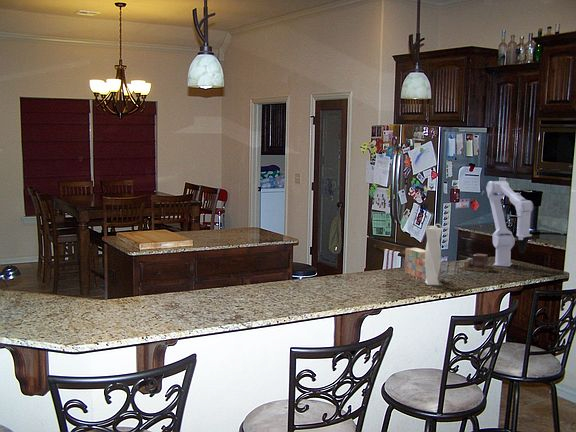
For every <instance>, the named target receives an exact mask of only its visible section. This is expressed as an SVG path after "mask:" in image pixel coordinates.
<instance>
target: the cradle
mask: <svg viewBox="0 0 576 432" xmlns="http://www.w3.org/2000/svg"><path fill="white" fill-rule="evenodd" d="M493 267H494V265H493V264H492V265H490V264H487V269H482V268H473V257H468V258H466V259H465V261H464V266H463V270H464V271H472V270H473V271H475V272H483V273H489V271H490V270H489V269H493Z"/></svg>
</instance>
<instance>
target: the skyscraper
mask: <svg viewBox="0 0 576 432" xmlns="http://www.w3.org/2000/svg"><path fill="white" fill-rule="evenodd" d="M437 225H439V226H440V227H438V226H437ZM442 231H443V226H442V225H441V224H440V223H435V224H434V225H427V226H425V233H426V234H425V235H426V246H425V250H426V251H425V268H426V280H424V283H425V284H426V285H427V286H444V284H443V283H442V282H441V281H440V261H442V260H441V259H442V256H441V255H442V250H441V243H440V242H441V241H440V239H441V236H442Z"/></svg>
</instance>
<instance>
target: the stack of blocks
mask: <svg viewBox="0 0 576 432" xmlns="http://www.w3.org/2000/svg"><path fill="white" fill-rule="evenodd" d="M404 250H405V254H404V255H405V256H404V257H405V258H404V260H405V262H404V263H405V266H404V272H405V274H407V273H408V275H411V276H412V275H413V277H416V278H419V279H422V280H424V281H426V268H425V251H426V249H422V248H419V247H411V248H410V247H407V248H405V249H404ZM442 262H443V261H442V260H441V261H440V282H441V281H442V268H443V267H442V266H443V263H442Z"/></svg>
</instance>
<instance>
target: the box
mask: <svg viewBox="0 0 576 432" xmlns="http://www.w3.org/2000/svg"><path fill="white" fill-rule="evenodd" d="M488 257H489V256H488V254H485V253H475V254H473V255H472V258H473V266H472V268H482V269H488V268H487V265H488Z"/></svg>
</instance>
